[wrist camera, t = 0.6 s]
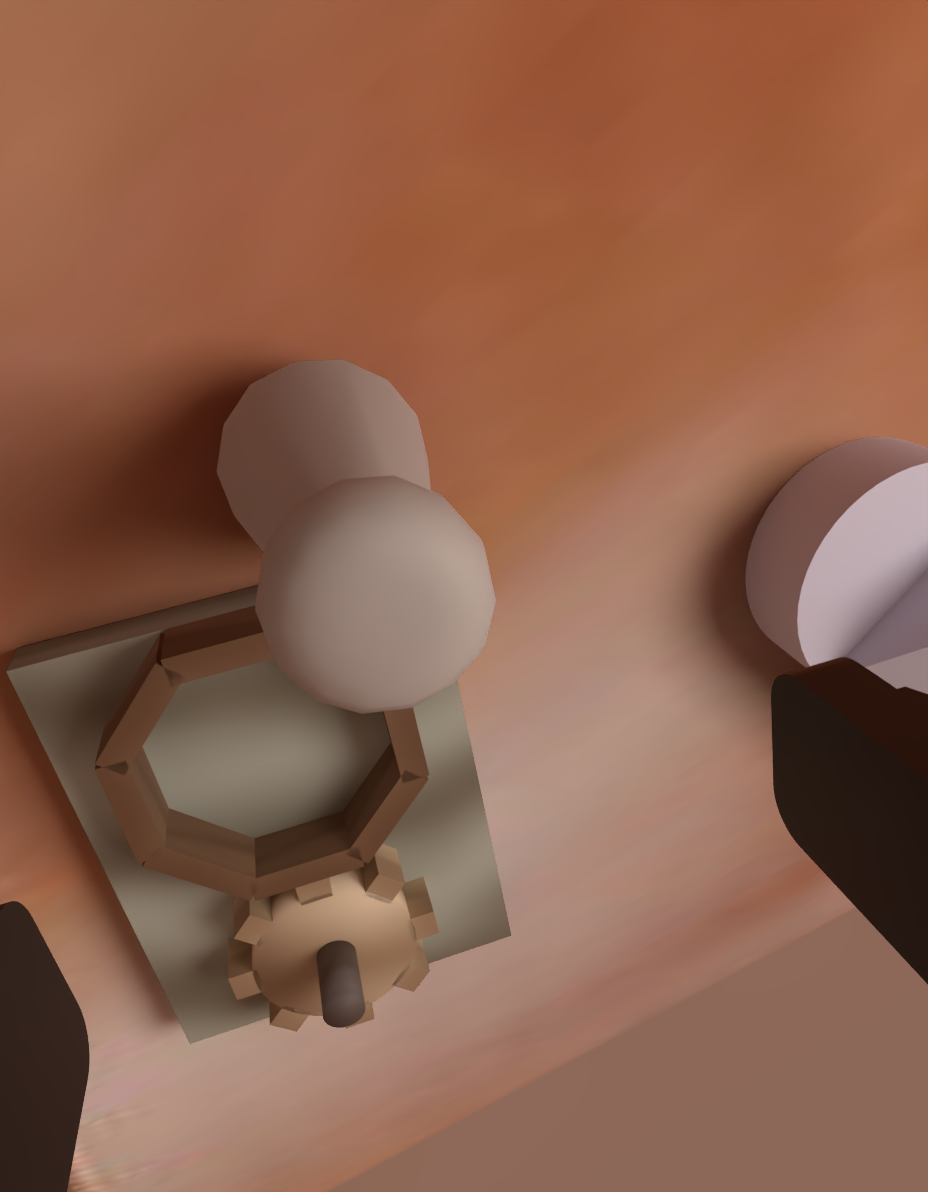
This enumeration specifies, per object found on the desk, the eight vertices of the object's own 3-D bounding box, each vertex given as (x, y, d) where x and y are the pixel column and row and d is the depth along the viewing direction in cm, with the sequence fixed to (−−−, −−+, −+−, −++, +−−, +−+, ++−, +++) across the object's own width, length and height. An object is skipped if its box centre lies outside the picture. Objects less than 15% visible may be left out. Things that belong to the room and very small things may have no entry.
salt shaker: (281, 564, 27) (318, 822, 16) (179, 406, 24) (132, 577, 13) (441, 477, 27) (594, 669, 16) (357, 311, 25) (467, 395, 13)
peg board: (17, 648, 26) (-34, 751, 21) (422, 542, 28) (463, 614, 23) (191, 1011, 34) (184, 1151, 29) (500, 908, 35) (545, 1023, 30)
